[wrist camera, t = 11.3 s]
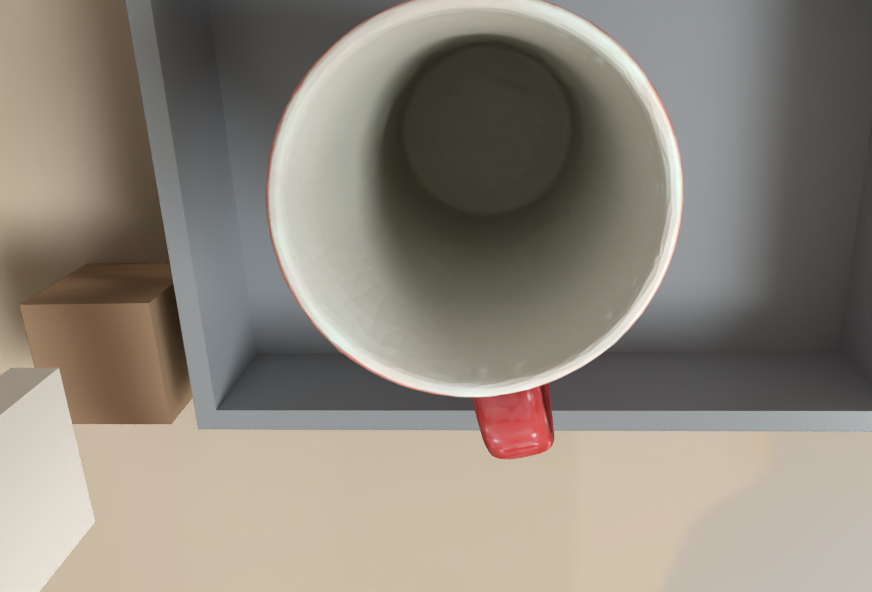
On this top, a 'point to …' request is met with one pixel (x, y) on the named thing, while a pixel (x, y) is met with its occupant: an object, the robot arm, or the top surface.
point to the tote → (686, 275)
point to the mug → (476, 202)
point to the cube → (113, 343)
